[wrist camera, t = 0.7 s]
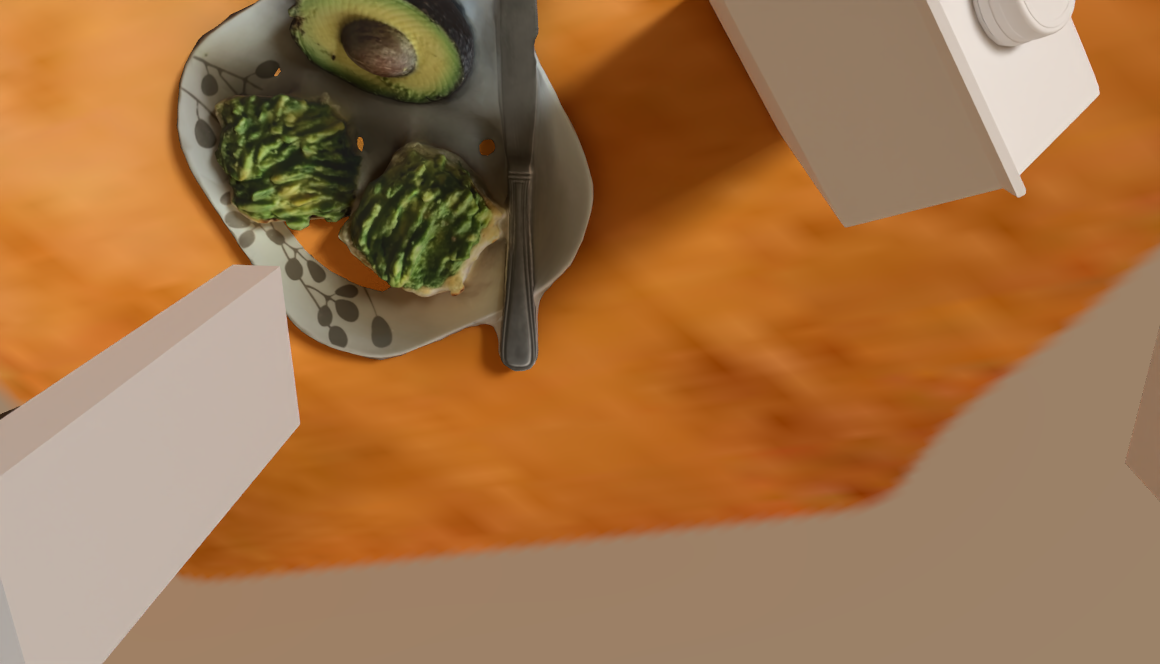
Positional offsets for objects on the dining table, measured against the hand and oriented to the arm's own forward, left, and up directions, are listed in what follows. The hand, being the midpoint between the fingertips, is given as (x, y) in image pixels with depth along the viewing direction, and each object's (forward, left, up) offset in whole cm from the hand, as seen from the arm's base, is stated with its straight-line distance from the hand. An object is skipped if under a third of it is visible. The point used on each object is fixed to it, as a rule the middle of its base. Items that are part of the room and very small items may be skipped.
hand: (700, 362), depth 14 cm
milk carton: (-4, +5, -27) cm, 28 cm away
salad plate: (+2, -13, -27) cm, 30 cm away
